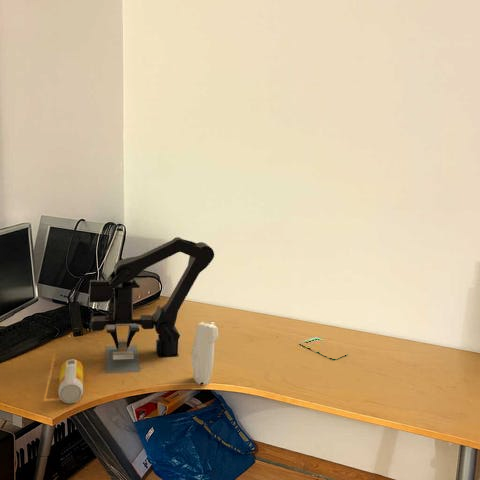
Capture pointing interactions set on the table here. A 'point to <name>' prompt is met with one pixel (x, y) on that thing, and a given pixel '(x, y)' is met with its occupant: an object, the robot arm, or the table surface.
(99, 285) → the robot arm
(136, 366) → the tool mat
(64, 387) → the yellow cylindrical bottle
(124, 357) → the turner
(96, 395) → the table surface
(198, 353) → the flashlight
